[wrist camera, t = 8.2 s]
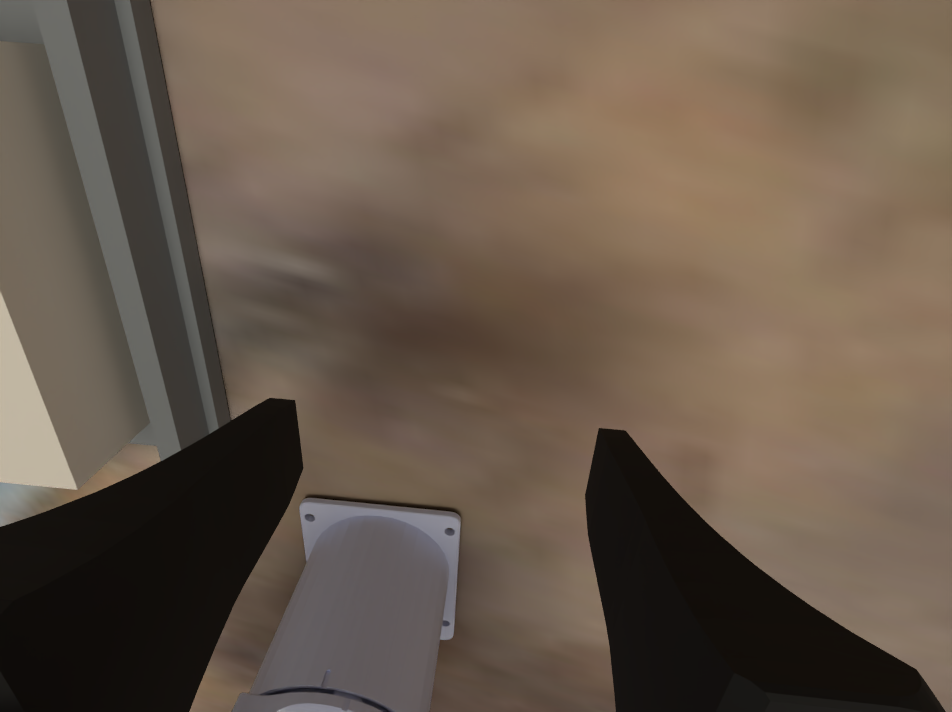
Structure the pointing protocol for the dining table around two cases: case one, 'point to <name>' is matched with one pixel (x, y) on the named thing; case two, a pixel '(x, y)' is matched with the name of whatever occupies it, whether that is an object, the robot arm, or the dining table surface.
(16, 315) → the clay bar
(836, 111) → the dining table surface
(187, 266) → the grooved grey tray
